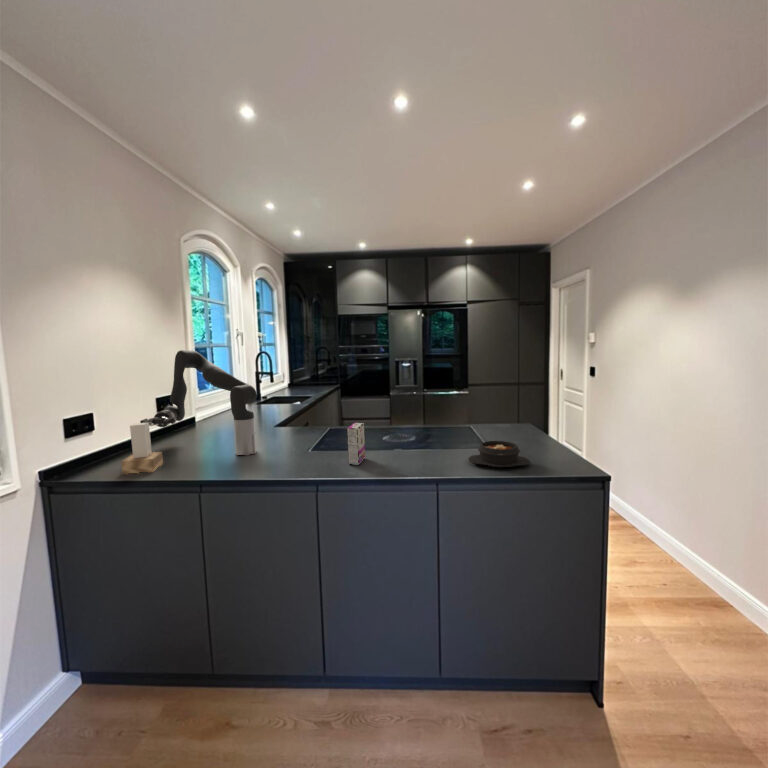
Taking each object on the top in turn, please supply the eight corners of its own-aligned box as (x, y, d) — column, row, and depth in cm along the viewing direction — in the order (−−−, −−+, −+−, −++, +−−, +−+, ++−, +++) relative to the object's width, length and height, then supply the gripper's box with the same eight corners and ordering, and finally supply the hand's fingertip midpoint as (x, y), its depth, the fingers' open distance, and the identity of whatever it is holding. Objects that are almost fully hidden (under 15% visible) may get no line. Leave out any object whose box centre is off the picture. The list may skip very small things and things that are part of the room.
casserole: (469, 470, 162) (469, 450, 161) (467, 457, 180) (467, 439, 179) (534, 472, 158) (534, 451, 157) (525, 458, 176) (525, 440, 175)
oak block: (163, 464, 181) (162, 451, 181) (154, 472, 170) (153, 458, 169) (133, 467, 179) (132, 453, 178) (122, 475, 167) (121, 461, 166)
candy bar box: (355, 458, 183) (353, 422, 181) (365, 458, 182) (364, 422, 180) (347, 465, 172) (346, 428, 170) (359, 466, 171) (358, 428, 169)
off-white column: (151, 453, 177) (148, 422, 176) (147, 456, 172) (144, 424, 170) (138, 455, 176) (134, 423, 174) (133, 458, 170) (129, 425, 169)
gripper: (148, 411, 198) (135, 417, 182) (179, 409, 201) (170, 414, 185) (149, 426, 198) (137, 433, 183) (180, 424, 202) (171, 430, 186)
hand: (153, 424), depth 184 cm, fingers open, 8 cm apart
